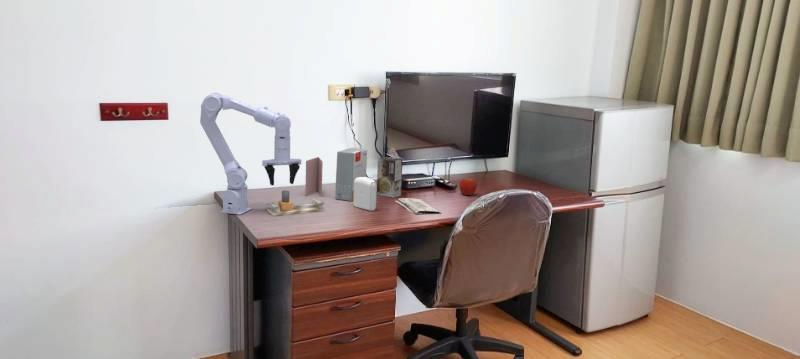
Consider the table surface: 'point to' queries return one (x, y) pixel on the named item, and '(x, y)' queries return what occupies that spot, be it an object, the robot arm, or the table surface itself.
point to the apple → (468, 186)
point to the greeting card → (313, 176)
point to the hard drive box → (349, 171)
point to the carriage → (285, 201)
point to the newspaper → (416, 205)
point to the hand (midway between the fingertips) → (281, 184)
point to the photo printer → (364, 193)
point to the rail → (296, 208)
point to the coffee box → (389, 177)
